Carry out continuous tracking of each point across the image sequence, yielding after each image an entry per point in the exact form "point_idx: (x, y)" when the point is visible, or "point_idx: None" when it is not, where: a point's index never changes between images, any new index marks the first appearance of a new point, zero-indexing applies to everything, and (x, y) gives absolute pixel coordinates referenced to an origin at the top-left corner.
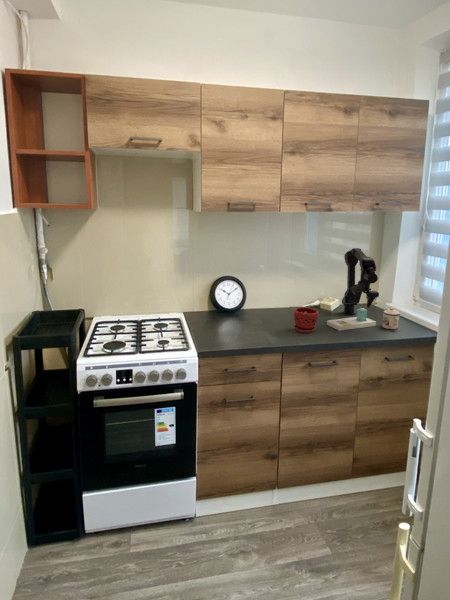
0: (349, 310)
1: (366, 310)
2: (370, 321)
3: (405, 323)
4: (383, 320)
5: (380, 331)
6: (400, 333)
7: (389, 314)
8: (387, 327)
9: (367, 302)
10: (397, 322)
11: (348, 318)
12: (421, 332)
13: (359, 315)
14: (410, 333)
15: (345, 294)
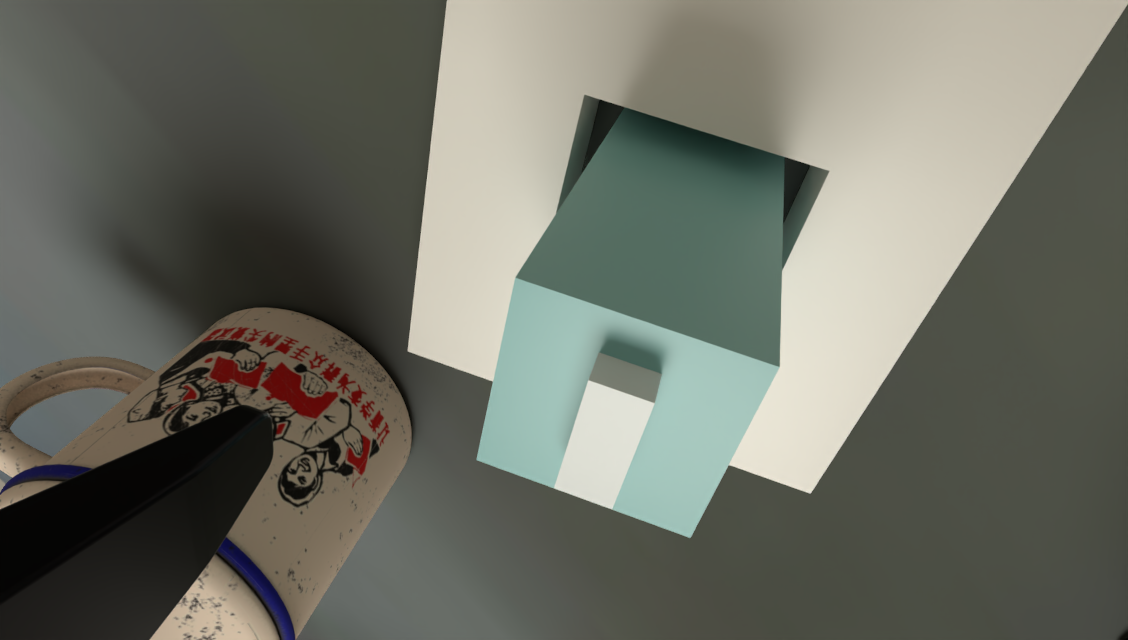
0: None
1: (483, 430)
2: (475, 290)
3: (353, 621)
4: (277, 401)
5: (168, 78)
6: (31, 244)
7: (38, 480)
8: (243, 315)
9: (23, 556)
10: (9, 382)
11: (1019, 80)
12: (40, 450)
13: (652, 214)
14: (19, 338)
15: None
